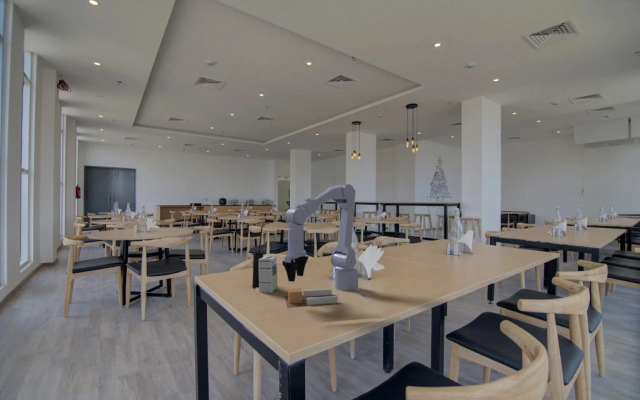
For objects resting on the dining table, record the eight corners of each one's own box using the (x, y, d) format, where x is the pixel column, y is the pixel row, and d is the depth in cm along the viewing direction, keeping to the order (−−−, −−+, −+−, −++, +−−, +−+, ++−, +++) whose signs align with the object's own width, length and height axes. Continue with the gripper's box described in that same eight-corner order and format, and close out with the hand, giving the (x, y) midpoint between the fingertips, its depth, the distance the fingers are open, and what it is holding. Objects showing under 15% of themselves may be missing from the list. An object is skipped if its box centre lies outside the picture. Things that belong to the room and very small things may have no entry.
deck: (330, 295, 117) (330, 293, 117) (338, 306, 105) (338, 303, 105) (284, 299, 113) (284, 296, 113) (287, 310, 101) (287, 307, 101)
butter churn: (243, 291, 124) (242, 223, 124) (246, 284, 133) (246, 222, 133) (265, 290, 124) (265, 223, 124) (267, 283, 134) (267, 221, 134)
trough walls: (331, 294, 116) (331, 288, 116) (337, 302, 106) (337, 296, 106) (303, 296, 114) (303, 290, 114) (307, 305, 104) (307, 298, 104)
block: (300, 298, 111) (300, 287, 111) (302, 302, 106) (302, 291, 106) (288, 299, 110) (288, 288, 110) (289, 303, 105) (289, 292, 105)
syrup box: (272, 295, 117) (272, 259, 117) (258, 294, 119) (258, 258, 119) (277, 291, 123) (277, 256, 123) (264, 290, 124) (263, 255, 124)
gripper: (297, 244, 100) (298, 284, 100) (313, 239, 114) (313, 274, 114) (279, 243, 102) (279, 282, 102) (296, 238, 116) (296, 273, 116)
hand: (295, 278), depth 108 cm, fingers open, 7 cm apart
